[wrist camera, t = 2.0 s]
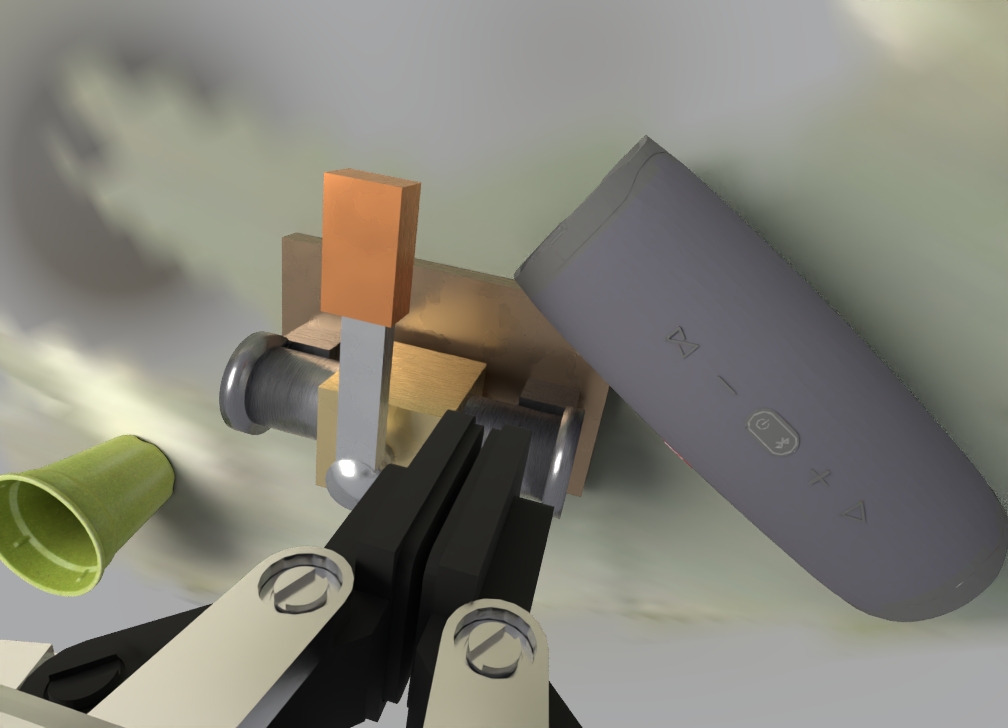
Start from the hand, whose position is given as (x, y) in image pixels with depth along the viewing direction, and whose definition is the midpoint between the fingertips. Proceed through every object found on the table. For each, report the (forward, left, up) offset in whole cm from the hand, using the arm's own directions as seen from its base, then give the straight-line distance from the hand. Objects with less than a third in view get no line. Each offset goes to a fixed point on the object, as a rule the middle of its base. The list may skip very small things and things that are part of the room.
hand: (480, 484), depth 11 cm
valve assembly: (+7, +9, -22) cm, 25 cm away
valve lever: (+7, +4, -11) cm, 14 cm away
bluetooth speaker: (-9, +3, -23) cm, 24 cm away
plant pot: (+30, +23, -23) cm, 44 cm away
